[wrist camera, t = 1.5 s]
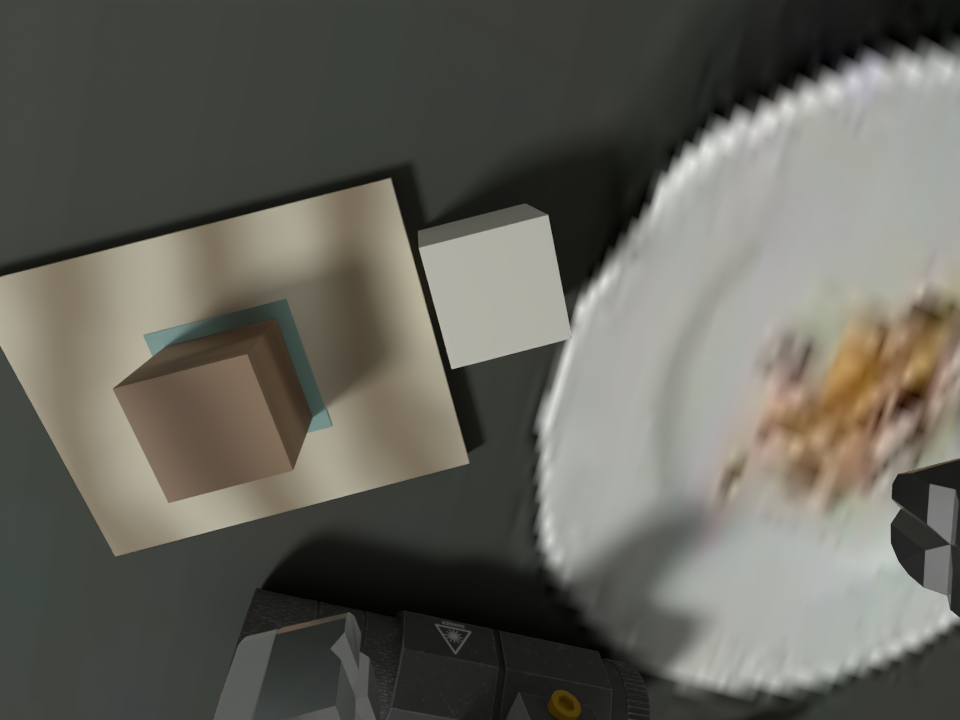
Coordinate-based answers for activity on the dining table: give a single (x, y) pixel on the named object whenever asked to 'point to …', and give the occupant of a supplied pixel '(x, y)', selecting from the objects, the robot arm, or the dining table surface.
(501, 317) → the cream block
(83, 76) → the dining table surface
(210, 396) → the walnut block
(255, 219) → the beige rectangular board
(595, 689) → the laser sight
